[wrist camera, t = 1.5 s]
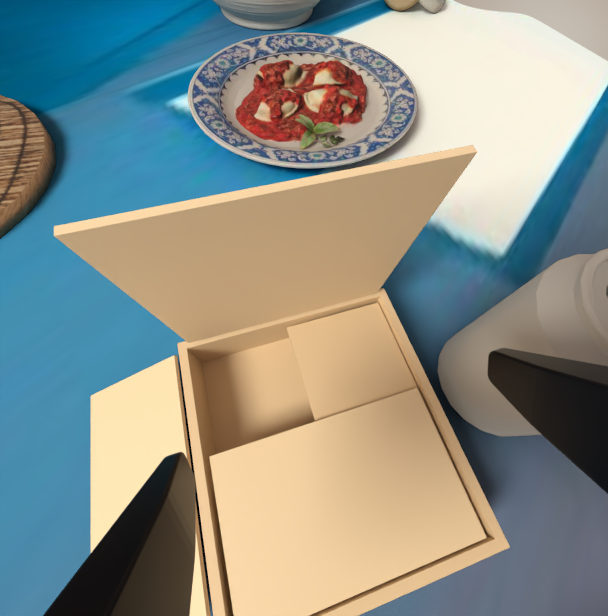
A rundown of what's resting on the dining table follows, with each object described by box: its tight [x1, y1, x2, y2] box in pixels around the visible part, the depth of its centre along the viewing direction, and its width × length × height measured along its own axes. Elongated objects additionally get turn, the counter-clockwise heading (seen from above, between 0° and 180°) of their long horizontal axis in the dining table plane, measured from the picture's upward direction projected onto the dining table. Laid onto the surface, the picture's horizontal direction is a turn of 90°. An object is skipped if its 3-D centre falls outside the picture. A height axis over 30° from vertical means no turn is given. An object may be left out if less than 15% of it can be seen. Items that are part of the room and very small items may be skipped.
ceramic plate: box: [188, 33, 418, 168], centre depth 34 cm, size 26×26×3 cm
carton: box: [91, 288, 510, 616], centre depth 17 cm, size 15×21×4 cm
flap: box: [54, 145, 477, 343], centre depth 14 cm, size 1×12×11 cm, turn 106°
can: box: [438, 249, 608, 436], centre depth 16 cm, size 8×8×12 cm
